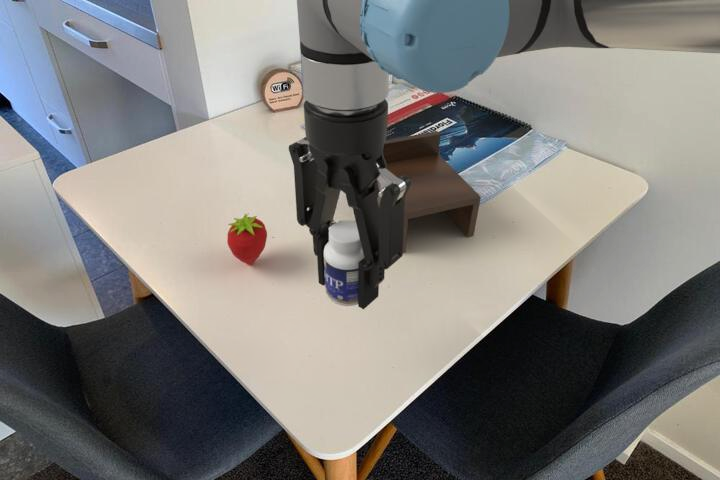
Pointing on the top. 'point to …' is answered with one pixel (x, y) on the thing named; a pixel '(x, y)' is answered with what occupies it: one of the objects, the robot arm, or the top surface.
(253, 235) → the strawberry
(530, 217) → the top surface
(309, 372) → the top surface
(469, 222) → the shelf
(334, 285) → the pill bottle
